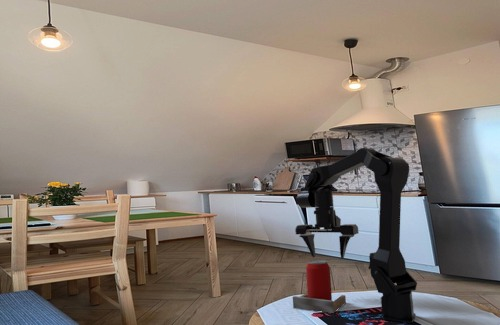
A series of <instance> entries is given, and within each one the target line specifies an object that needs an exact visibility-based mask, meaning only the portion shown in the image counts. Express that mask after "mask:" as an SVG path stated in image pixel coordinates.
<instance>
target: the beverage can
mask: <svg viewBox="0 0 500 325" xmlns="http://www.w3.org/2000/svg"><path fill="white" fill-rule="evenodd" d="M307 262H308V263H307V265H306V267H305V270H306V291H307V292H306V293H307V295H308V298H315V299H323V300H331V301H333V299H332V298H333V294H332V282H331V281H332V279H331V267H330V265H329V263H328V261H327V260H321V259H318V260H317V259H316V260H315V259H313V260H307Z"/></svg>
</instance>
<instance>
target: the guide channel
mask: <svg viewBox="0 0 500 325" xmlns="http://www.w3.org/2000/svg"><path fill="white" fill-rule="evenodd" d="M346 303H347V299H346V295H345V294H342V295H340V296H338V297H337V298H336V299H335V300H332V301H331V300H323V299H315V298H308V295H307V292H304V294H302V295H300V296H298V295H294V296H292V308H293V309H296V310H297V309H298V310H303V311H304V310H305V311H310V310H313V311H312V312H317V311H322V312H321V313H324V312H328V313H327V314H331V313H333V314H334V313H336V312H337V311H338V310H339V309H340V308H341V307H343V306H344V305H345V304H346ZM343 304H344V305H343ZM342 305H343V306H342ZM338 308H339V309H338ZM337 309H338V310H337ZM336 310H337V311H336Z"/></svg>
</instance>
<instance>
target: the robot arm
mask: <svg viewBox="0 0 500 325" xmlns="http://www.w3.org/2000/svg"><path fill="white" fill-rule="evenodd" d="M364 166H365V167H366V169H368V170H370V171H371V172H373V174H374V182H375V184H376V187H377V188H378V190H379V217H378V218H379V219H378V220H379V222H378V223H379V224H378V246H377V249H376V251H375V252H370V253H369V258H368V259H369V264H368V270H370V276H371V278H372V279H373V282H374V285H375V287H376V291H377V292H378V293H379V294H382V295H381V297H380V305H381V313H382V315H383V316H382V319H383V320H387V321H392V322H400V323H407V324H412V323H413V322H414V320H415V317H416V316H417V315H416V313H415V311H414V302H413V301H414V300H413V291H416V290H417V285H418V282H417V280H415V278H414V277H413V276H412V275H411V274H410V273H409V272H408V271H407V267H406V259H405V258H404V255H403V254H402V252H401V250H400V243H401V242H400V240H401V238H400V237H401V210H402V209H401V208H402V207H401V206H402V205H401V203H402V199H401V198H402V193H403V190H404V189H405V186H406V184H407V183H408V179H409V174H410V165H409V163H408V162H407V161H406V160H405V159H404V158H402V157H394V156H390V155H388V154H386V153H385V154H384V153H383V152H379V151H378V150H375V149H374V148H368V147H361V148H359V149H357V150H356V151H355V152H352V153H351V154H348V155H346V156H345V157H342V158H341V159H339V160H337V161H334V162H333V163H331V164H327V165H321V166H316V167H313V168H312V169H310V173H309V175H308V178H307V180H306V182H305V185H304V187H300V191H299V192H298V193H297V196H296V203H297V205H298V206H299V207H300V208H302V209H303V208H307V209H308V208H314V209H315V210H314V211H313V214H314V215H315V224H314V226H313V224H298V225H296V227H295V228H294V230H295V235H299V238H302V240H303V241H304V243H305V246H307V248H308V251H309V252H310V254H311V257H312V258H315V257H316V249H315V233H338V234H339V233H340V235H339V236H338V237H339V239H338V240H339V252H340V253H339V254H340V259H342V260H343V259H345V258H344V257H345V253H346V250H347V247H348V244H349V241H350V239H351V238H353V237H355V235H357V234H359V226H358V225H357V224H356V223H353V224H352V223H350V224H349V223H347V224H345V223H344V224H341V220H342V219H341V218H340V217H339V216H338V215H337V212H336V209H335V207H334V197H333V196H334V194H333V193H337V192H338V189H337V188H336V187H335V186H334V184H335V183H336V182H338V180H339V179H340V178H341V177H342V176H344V175H347V174H348V173H351V172H353V171H356V170H358V169H360V168H361V167H364ZM322 228H323V229H322Z"/></svg>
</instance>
